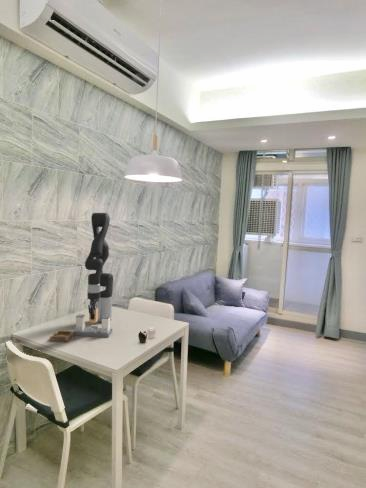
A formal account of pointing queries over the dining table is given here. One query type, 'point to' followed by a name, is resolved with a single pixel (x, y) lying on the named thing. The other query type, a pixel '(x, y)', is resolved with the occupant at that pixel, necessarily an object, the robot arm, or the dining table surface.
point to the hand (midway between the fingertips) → (93, 317)
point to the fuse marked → (94, 316)
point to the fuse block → (92, 327)
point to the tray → (62, 336)
